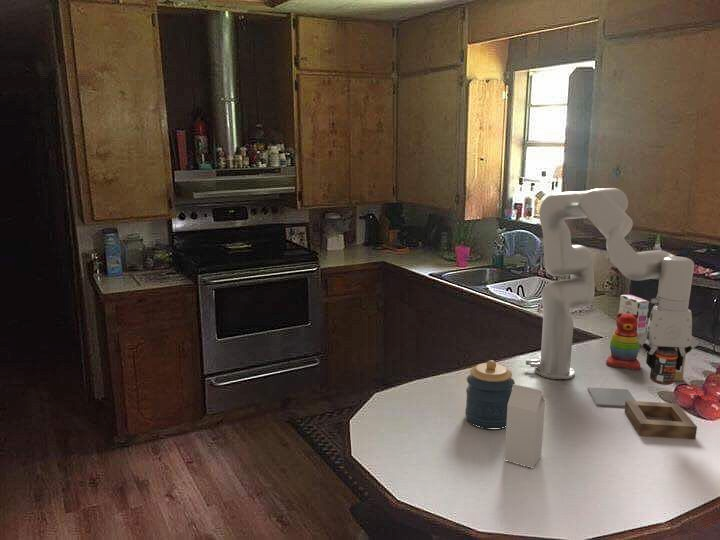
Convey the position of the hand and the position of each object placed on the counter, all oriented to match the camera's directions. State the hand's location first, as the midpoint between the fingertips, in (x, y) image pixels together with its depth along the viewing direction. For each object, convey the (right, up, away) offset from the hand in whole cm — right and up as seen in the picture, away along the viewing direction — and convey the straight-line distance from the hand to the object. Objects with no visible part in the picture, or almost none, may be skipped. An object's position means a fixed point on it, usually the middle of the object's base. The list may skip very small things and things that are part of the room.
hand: (663, 367), depth 164 cm
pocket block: (0, -16, +3) cm, 17 cm away
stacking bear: (+10, -6, +47) cm, 49 cm away
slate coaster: (-5, -13, +20) cm, 24 cm away
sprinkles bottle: (+21, -9, +34) cm, 41 cm away
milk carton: (-41, -21, -14) cm, 48 cm away
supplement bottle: (0, -4, +1) cm, 4 cm away
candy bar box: (+23, -1, +72) cm, 76 cm away
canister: (-46, -16, +7) cm, 49 cm away
